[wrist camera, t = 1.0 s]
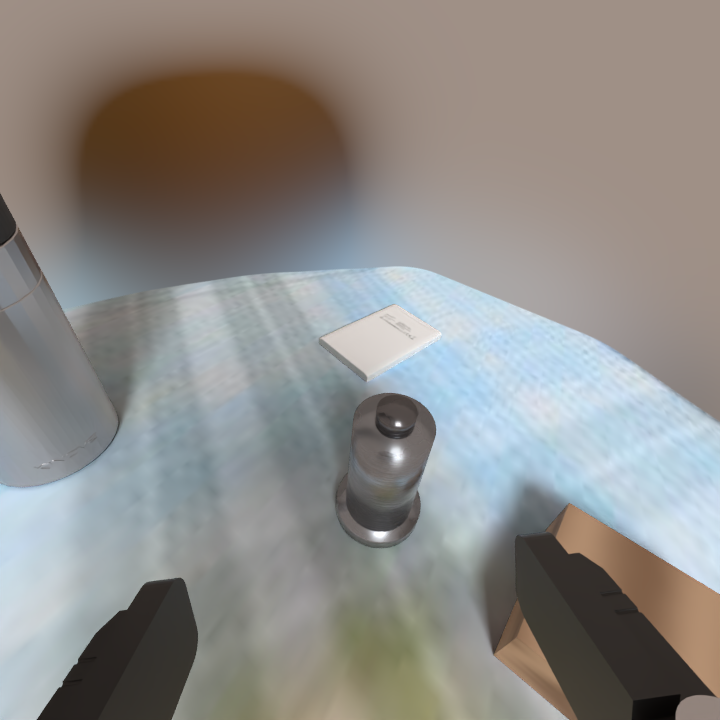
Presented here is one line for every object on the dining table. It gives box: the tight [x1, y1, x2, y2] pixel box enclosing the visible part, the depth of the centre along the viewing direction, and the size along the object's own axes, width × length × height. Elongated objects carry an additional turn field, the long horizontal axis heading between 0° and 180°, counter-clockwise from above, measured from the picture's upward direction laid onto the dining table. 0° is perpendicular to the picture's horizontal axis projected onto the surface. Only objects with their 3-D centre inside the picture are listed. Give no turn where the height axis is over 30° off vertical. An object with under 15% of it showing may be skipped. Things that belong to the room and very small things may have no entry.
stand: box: [494, 503, 720, 720], centre depth 22 cm, size 10×10×4 cm
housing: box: [336, 393, 436, 548], centre depth 26 cm, size 6×6×11 cm
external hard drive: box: [319, 304, 441, 382], centre depth 45 cm, size 2×8×12 cm
